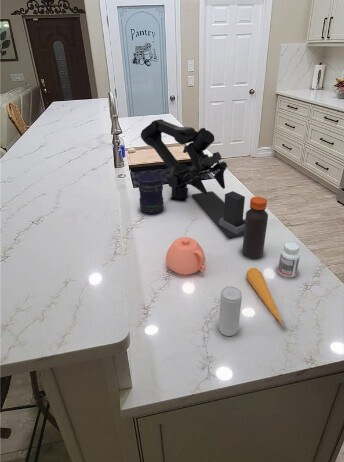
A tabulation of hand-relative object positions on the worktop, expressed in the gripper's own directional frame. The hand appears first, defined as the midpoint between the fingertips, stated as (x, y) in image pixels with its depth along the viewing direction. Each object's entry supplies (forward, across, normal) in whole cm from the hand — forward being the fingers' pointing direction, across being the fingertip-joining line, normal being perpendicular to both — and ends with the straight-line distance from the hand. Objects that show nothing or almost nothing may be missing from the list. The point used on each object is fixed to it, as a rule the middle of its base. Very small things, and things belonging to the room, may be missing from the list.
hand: (215, 191), depth 126 cm
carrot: (+38, -21, -22) cm, 49 cm away
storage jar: (-6, -16, +22) cm, 29 cm away
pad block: (+15, -1, -1) cm, 15 cm away
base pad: (+7, +4, +8) cm, 12 cm away
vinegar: (+26, -7, -10) cm, 29 cm away
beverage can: (+39, -36, -23) cm, 58 cm away
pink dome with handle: (+21, -29, -5) cm, 36 cm away
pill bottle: (+36, -6, -20) cm, 41 cm away
